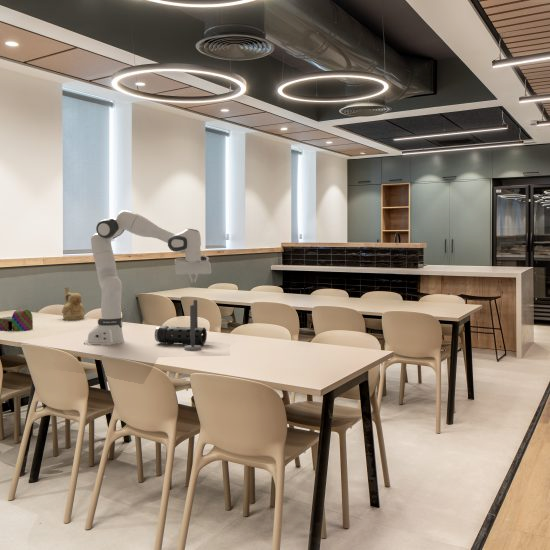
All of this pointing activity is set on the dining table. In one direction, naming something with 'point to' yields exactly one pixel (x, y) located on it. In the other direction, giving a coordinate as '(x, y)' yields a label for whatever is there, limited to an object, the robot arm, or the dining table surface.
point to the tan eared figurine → (72, 306)
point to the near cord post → (192, 332)
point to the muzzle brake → (179, 335)
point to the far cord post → (195, 313)
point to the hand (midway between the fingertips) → (193, 282)
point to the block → (17, 321)
